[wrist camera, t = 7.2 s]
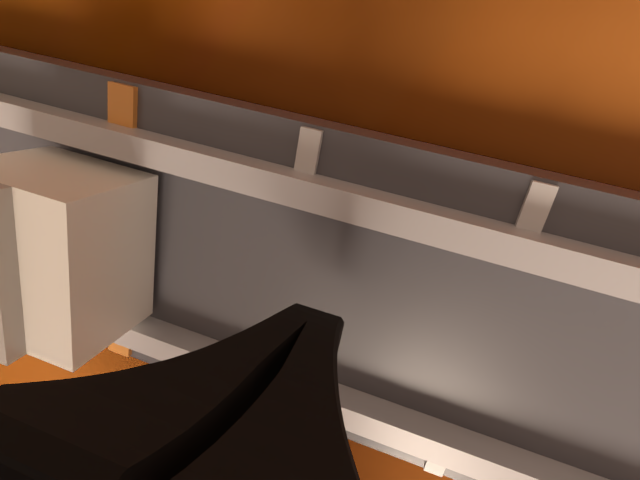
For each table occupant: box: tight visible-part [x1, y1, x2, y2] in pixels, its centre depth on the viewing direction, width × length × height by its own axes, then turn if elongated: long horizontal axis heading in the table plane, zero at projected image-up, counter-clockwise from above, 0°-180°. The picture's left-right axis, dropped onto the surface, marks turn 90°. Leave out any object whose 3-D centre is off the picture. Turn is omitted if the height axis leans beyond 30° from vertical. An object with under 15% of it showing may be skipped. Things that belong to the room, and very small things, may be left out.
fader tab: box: [0, 146, 158, 372], centre depth 13 cm, size 5×4×4 cm
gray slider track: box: [0, 45, 640, 480], centre depth 14 cm, size 10×26×2 cm, turn 80°
